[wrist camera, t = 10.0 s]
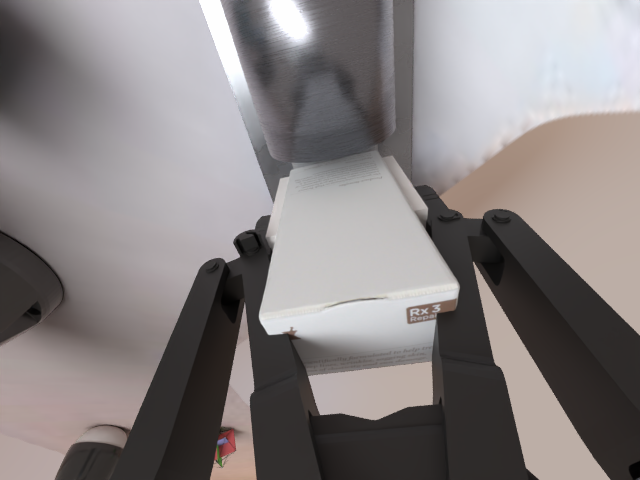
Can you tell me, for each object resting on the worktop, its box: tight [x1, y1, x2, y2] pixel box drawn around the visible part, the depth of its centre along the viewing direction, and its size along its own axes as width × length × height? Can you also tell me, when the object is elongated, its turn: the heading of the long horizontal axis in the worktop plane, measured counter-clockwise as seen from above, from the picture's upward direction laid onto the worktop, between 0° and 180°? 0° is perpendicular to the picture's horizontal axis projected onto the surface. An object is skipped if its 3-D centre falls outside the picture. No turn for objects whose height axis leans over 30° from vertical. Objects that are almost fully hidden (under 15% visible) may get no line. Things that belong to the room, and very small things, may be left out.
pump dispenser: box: [55, 425, 127, 480], centre depth 51 cm, size 10×10×15 cm
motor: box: [199, 0, 414, 203], centre depth 14 cm, size 11×20×8 cm, turn 12°
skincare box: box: [259, 150, 460, 376], centre depth 13 cm, size 6×4×12 cm
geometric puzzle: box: [213, 427, 236, 468], centre depth 55 cm, size 7×7×8 cm
